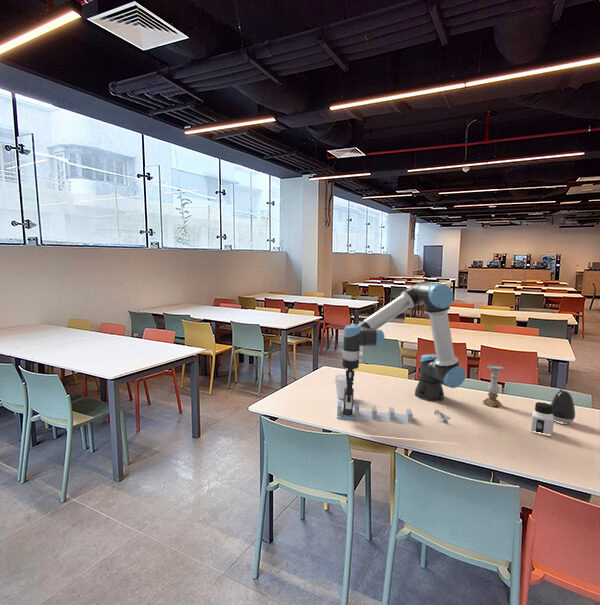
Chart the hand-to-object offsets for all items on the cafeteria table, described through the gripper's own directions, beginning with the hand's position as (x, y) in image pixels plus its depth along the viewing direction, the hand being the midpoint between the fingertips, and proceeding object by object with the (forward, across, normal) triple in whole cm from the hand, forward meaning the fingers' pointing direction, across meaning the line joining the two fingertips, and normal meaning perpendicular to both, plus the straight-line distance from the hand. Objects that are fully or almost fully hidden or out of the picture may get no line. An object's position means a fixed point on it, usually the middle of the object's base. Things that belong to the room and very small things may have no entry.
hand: (348, 403), depth 179 cm
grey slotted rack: (+6, 0, +12) cm, 13 cm away
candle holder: (+6, -31, +75) cm, 81 cm away
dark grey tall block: (+5, 0, 0) cm, 5 cm away
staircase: (+6, 0, +43) cm, 43 cm away
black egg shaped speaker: (+6, -14, +100) cm, 101 cm away
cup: (+6, -23, -3) cm, 24 cm away
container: (+6, 0, +85) cm, 85 cm away
